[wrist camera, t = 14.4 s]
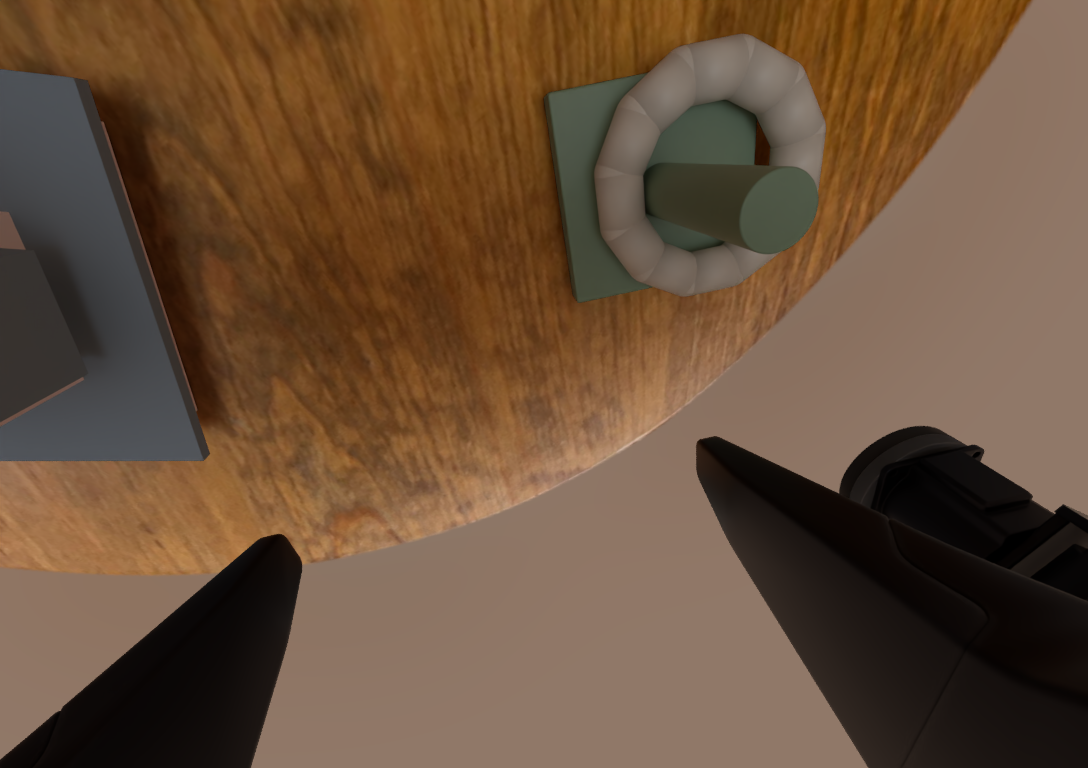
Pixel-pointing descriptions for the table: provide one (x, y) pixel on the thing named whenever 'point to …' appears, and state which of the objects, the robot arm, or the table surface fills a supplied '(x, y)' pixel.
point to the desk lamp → (79, 294)
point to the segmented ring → (658, 101)
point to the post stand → (672, 185)
